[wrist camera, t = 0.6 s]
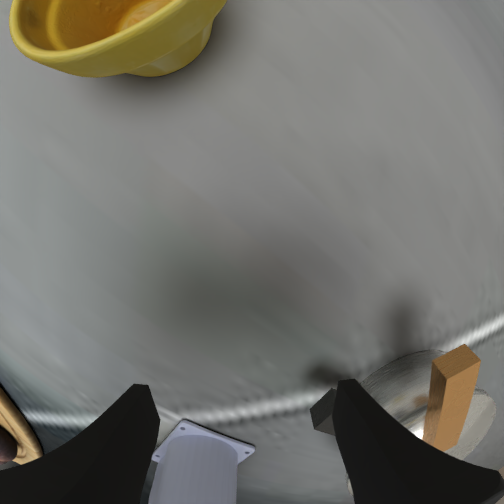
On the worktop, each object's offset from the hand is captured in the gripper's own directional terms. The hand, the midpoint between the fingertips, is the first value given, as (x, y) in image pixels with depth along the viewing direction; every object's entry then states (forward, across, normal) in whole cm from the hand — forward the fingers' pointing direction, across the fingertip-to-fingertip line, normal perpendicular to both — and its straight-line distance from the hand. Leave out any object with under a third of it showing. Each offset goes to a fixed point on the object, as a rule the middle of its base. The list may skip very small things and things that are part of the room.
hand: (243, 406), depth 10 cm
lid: (+4, -14, +11) cm, 18 cm away
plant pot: (+11, +5, -18) cm, 21 cm away
